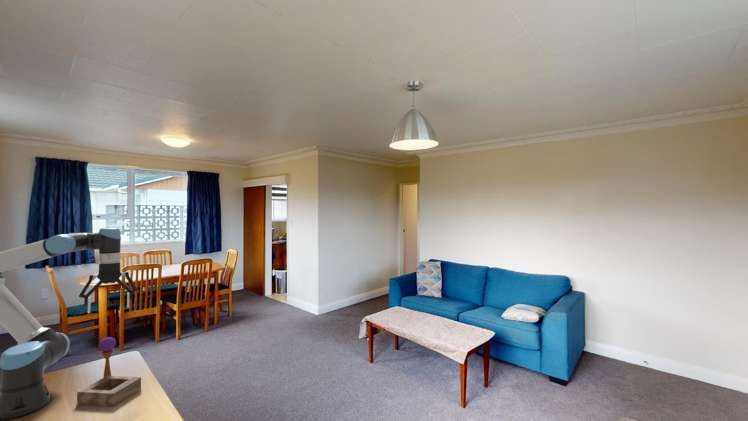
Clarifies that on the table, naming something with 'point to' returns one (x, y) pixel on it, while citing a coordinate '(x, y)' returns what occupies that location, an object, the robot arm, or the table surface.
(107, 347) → the kendama
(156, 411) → the table surface
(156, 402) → the table surface
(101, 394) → the socket block
